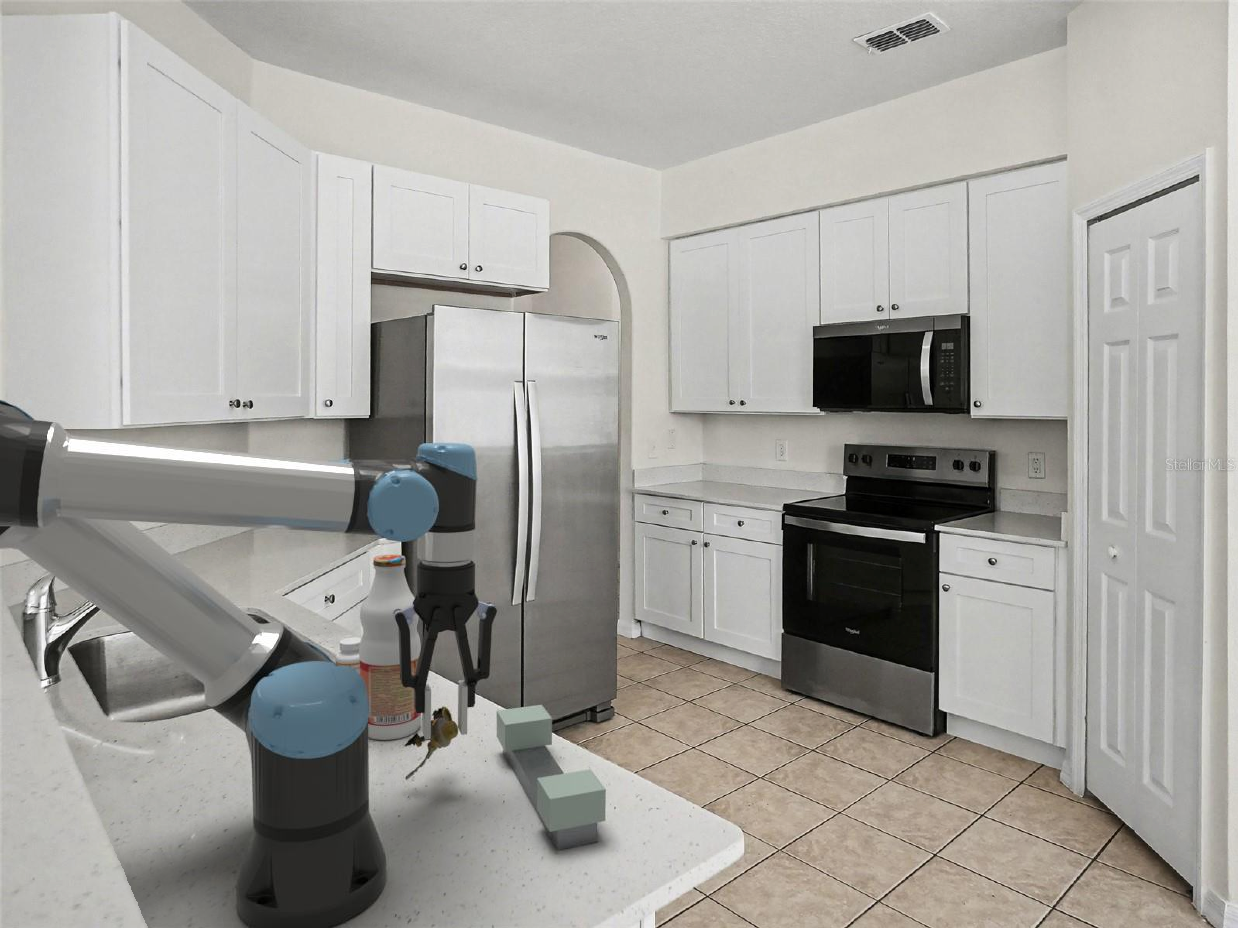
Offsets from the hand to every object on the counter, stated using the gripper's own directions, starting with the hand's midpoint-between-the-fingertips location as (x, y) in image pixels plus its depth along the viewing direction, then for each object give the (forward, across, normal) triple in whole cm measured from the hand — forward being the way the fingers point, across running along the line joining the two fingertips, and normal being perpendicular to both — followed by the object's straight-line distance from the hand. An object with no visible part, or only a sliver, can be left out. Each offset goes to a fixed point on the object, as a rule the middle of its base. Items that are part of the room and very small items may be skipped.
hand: (444, 732), depth 106 cm
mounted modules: (+6, -13, +4) cm, 15 cm away
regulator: (+3, +2, 0) cm, 3 cm away
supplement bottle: (+9, +10, -42) cm, 44 cm away
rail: (+8, -13, +4) cm, 16 cm away
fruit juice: (+9, +4, -24) cm, 26 cm away
